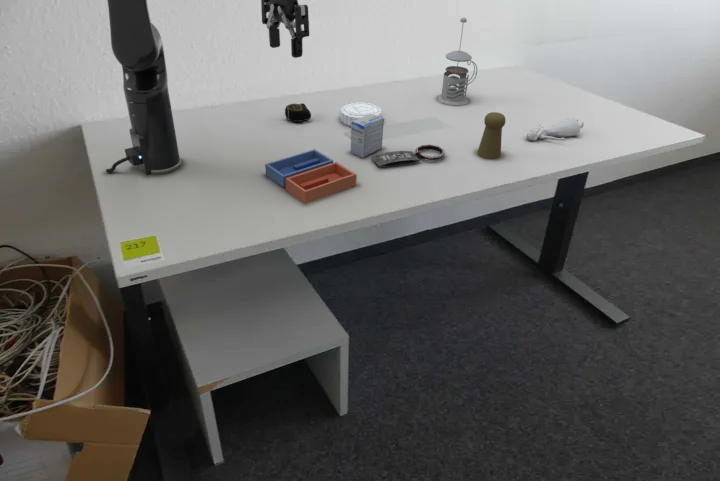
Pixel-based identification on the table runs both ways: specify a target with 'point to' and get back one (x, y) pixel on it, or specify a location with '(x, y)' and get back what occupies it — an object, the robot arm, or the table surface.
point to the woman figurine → (557, 130)
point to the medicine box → (366, 135)
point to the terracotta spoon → (319, 181)
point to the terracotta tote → (325, 189)
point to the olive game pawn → (492, 136)
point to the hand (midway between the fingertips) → (285, 51)
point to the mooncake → (357, 112)
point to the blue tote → (276, 166)
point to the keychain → (407, 156)
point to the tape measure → (297, 112)
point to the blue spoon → (300, 166)
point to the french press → (456, 78)
